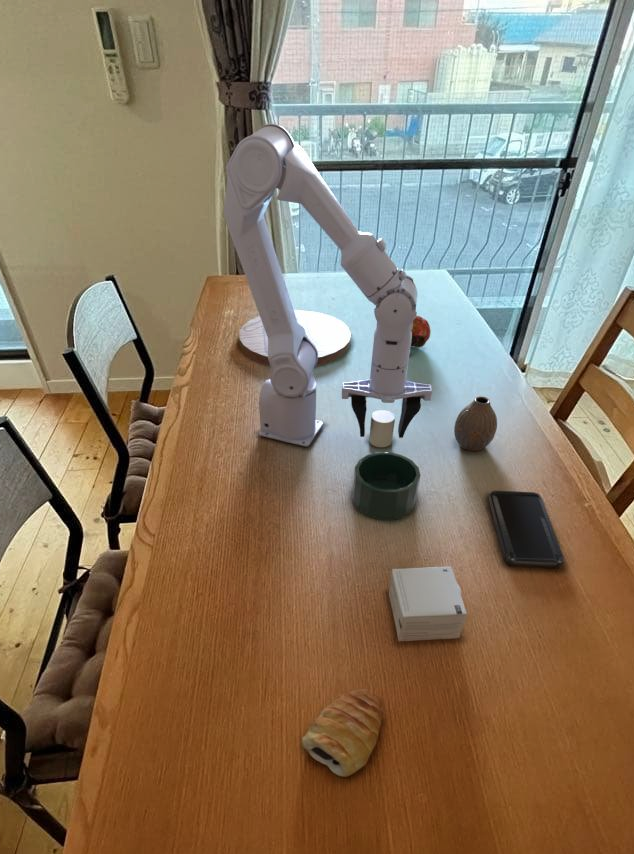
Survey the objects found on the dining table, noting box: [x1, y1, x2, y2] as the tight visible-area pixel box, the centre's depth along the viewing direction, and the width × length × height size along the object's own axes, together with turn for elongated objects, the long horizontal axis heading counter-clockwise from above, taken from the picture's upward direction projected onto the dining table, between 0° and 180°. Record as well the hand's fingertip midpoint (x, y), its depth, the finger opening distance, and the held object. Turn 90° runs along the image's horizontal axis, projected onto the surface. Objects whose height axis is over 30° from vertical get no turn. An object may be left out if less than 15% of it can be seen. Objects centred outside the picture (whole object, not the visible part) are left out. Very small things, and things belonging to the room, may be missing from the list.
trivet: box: [238, 309, 352, 367], centre depth 124 cm, size 25×25×2 cm
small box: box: [388, 565, 468, 642], centre depth 68 cm, size 8×8×5 cm
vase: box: [453, 396, 498, 452], centre depth 94 cm, size 7×7×9 cm
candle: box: [368, 409, 396, 448], centre depth 96 cm, size 4×4×5 cm
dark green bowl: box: [352, 451, 421, 521], centre depth 84 cm, size 10×10×6 cm
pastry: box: [301, 688, 384, 778], centre depth 58 cm, size 9×7×4 cm
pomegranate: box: [409, 311, 431, 355], centre depth 121 cm, size 7×7×10 cm
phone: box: [488, 490, 565, 569], centre depth 81 cm, size 8×1×15 cm
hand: (381, 434), depth 97 cm, fingers open, 6 cm apart
